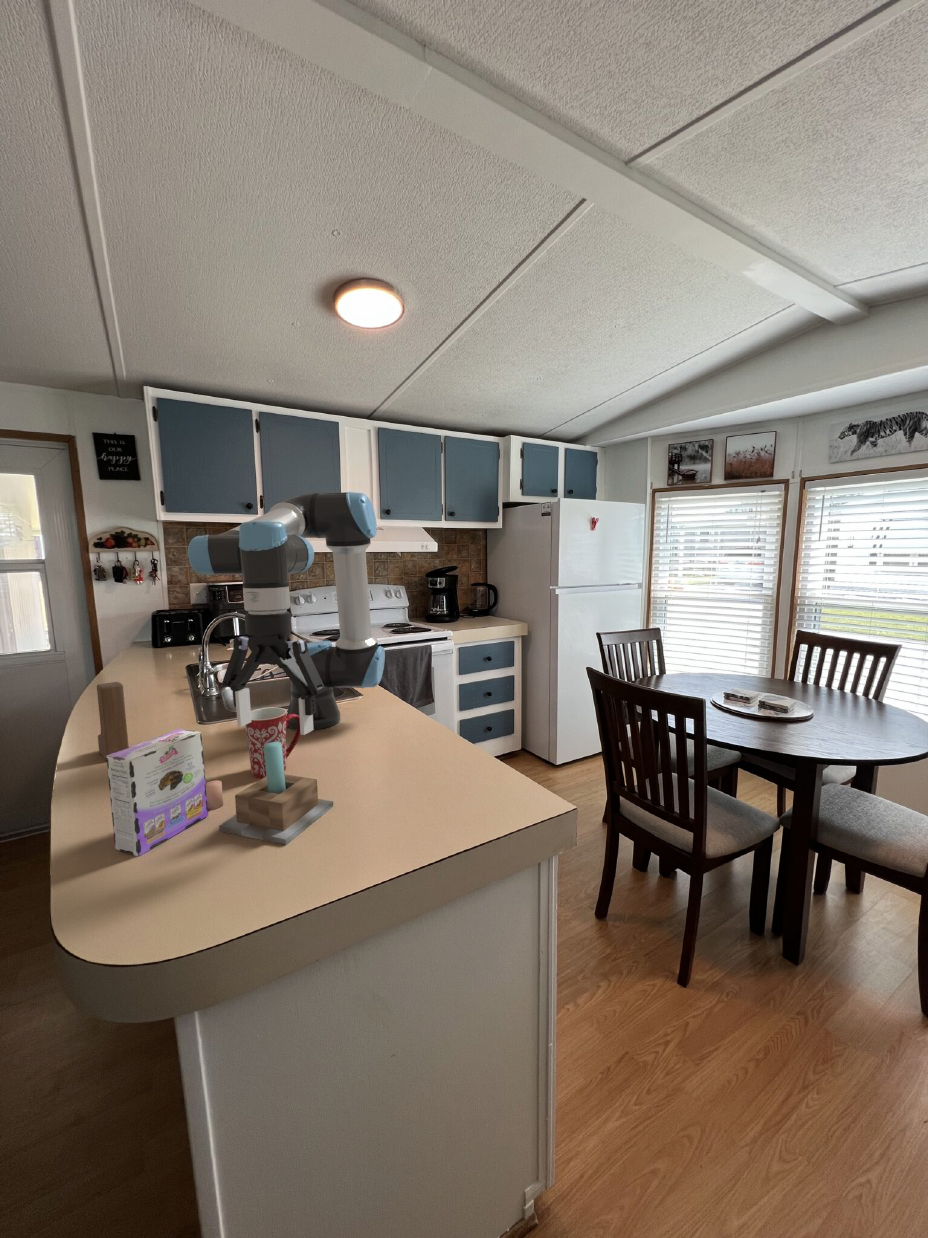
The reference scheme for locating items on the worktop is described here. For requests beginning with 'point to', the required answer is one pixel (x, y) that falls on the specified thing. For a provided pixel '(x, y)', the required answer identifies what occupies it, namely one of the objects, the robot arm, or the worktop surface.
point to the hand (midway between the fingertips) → (275, 728)
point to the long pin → (274, 767)
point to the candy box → (156, 790)
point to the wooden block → (112, 718)
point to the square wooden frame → (276, 810)
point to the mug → (268, 736)
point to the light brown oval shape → (214, 794)
